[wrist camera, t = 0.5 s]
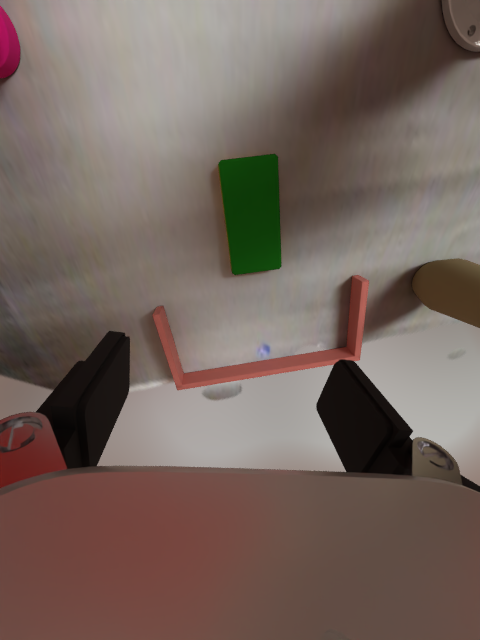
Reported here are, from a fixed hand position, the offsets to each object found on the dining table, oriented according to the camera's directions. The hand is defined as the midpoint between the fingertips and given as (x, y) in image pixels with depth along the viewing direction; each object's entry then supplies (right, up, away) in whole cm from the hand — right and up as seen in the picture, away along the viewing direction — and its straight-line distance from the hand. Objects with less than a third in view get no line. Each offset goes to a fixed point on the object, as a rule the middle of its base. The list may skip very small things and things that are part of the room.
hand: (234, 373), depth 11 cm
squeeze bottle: (+31, +9, +29) cm, 44 cm away
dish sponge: (+2, +17, +23) cm, 28 cm away
